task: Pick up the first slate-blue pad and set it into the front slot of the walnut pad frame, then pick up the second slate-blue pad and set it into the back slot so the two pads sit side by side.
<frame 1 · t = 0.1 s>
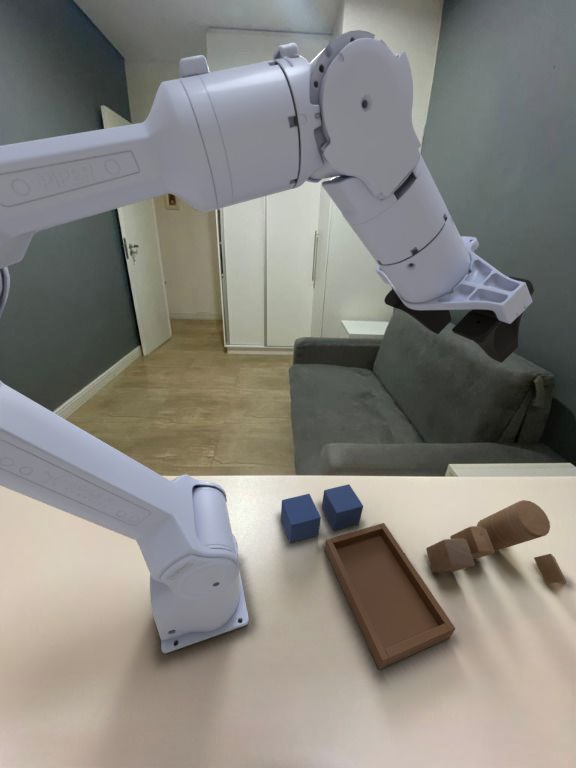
hand: (471, 338, 31), 32 cm above the table, tool tilted 50°, fingers open, 7 cm apart
wooden block set: (485, 559, 44), on the table
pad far: (339, 515, 49), on the table
pad near: (299, 526, 47), on the table
pad frame: (380, 588, 40), on the table
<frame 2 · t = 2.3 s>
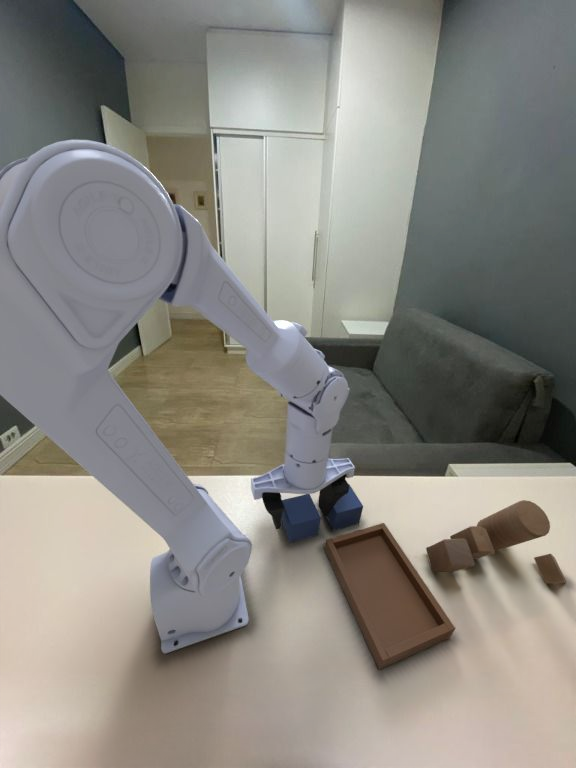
hand: (300, 517, 46), 2 cm above the table, tool pointing down, fingers open, 7 cm apart
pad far: (339, 515, 49), on the table, touching gripper
everything else where it was.
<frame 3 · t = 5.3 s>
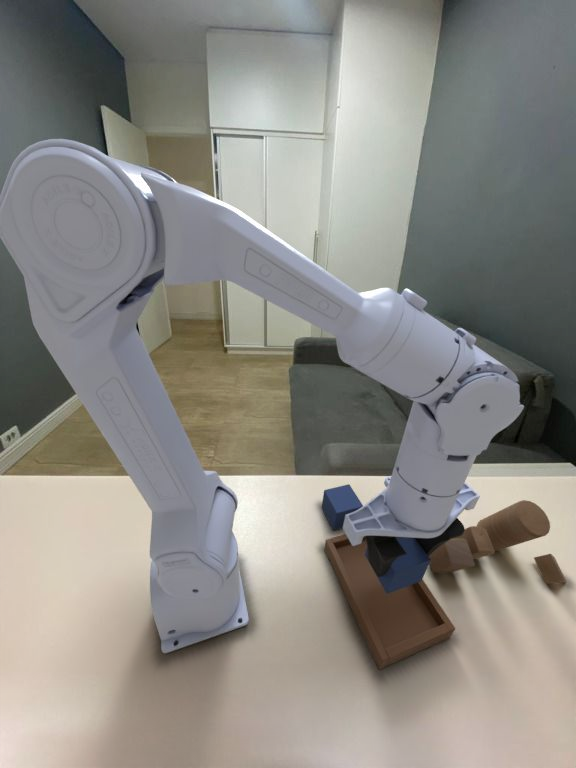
hand: (395, 560, 35), 8 cm above the table, tool pointing down, fingers closed on pad near, 4 cm apart
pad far: (339, 515, 49), on the table
pad near: (392, 567, 35), point 7 cm above the table, touching gripper
everything else where it was.
when the fingers open (2 cm above the table, at t = 7.5 s): pad near stays where it is, resting on pad frame.
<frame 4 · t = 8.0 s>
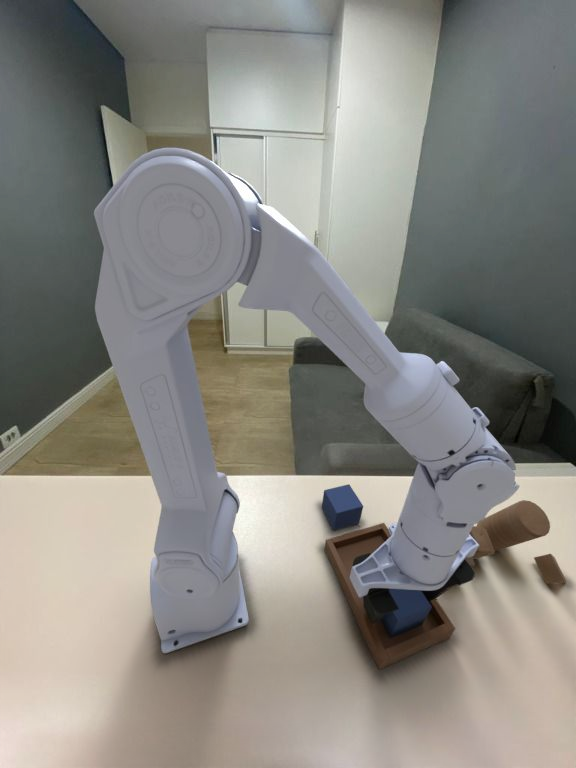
hand: (398, 602, 36), 3 cm above the table, tool pointing down, fingers open, 7 cm apart
pad near: (394, 610, 37), point 1 cm above the table, touching pad frame
everything else where it was.
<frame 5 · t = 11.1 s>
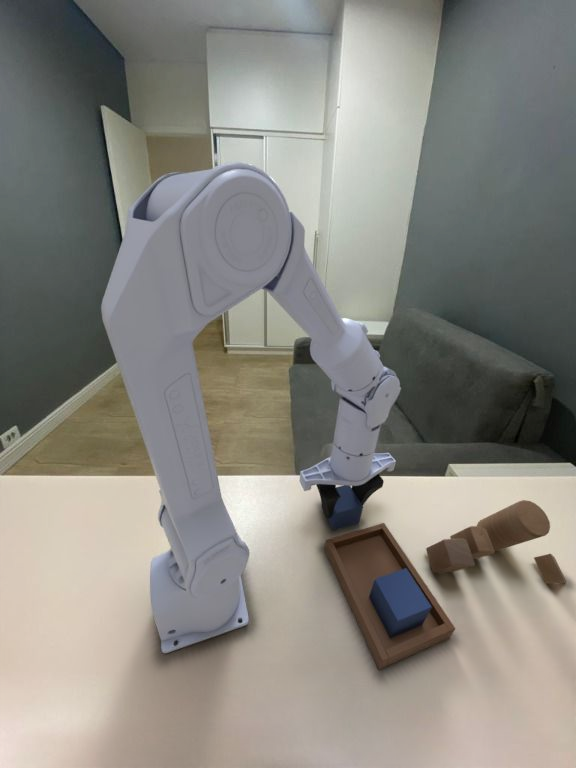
hand: (341, 509, 49), 1 cm above the table, tool pointing down, fingers closed on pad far, 4 cm apart
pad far: (339, 515, 49), on the table, touching gripper
everything else where it was.
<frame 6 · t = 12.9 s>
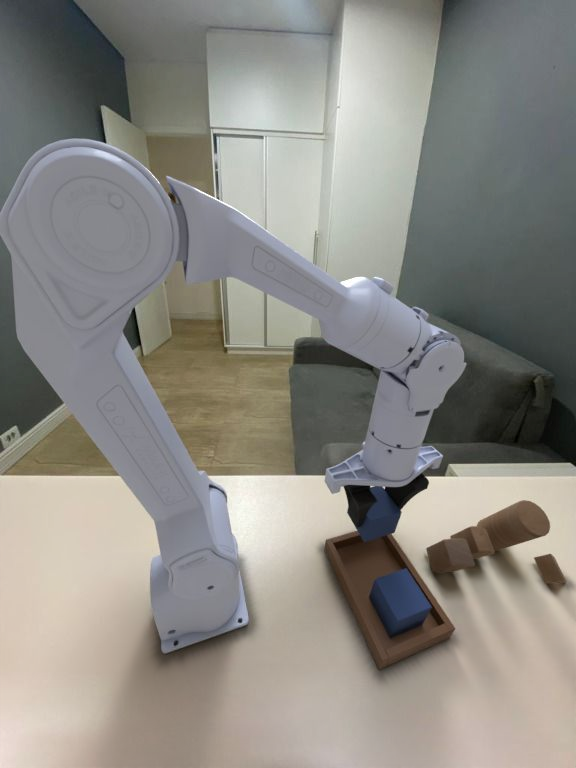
hand: (372, 515, 40), 8 cm above the table, tool pointing down, fingers closed on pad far, 4 cm apart
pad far: (370, 522, 40), point 7 cm above the table, touching gripper
everything else where it was.
when the fingers open (2 cm above the table, at t = 15.0 s): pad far stays where it is, resting on pad frame.
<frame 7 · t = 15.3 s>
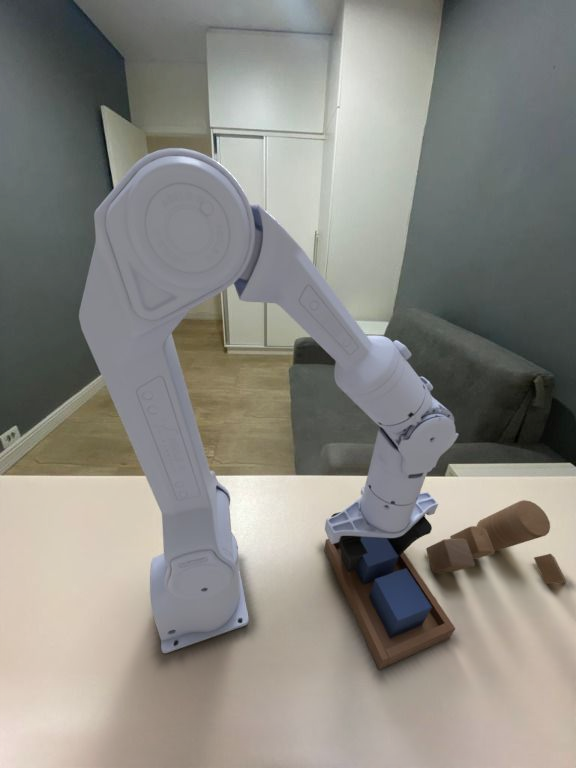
hand: (370, 556, 41), 2 cm above the table, tool pointing down, fingers open, 6 cm apart
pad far: (368, 563, 42), point 1 cm above the table, touching pad frame
everything else where it was.
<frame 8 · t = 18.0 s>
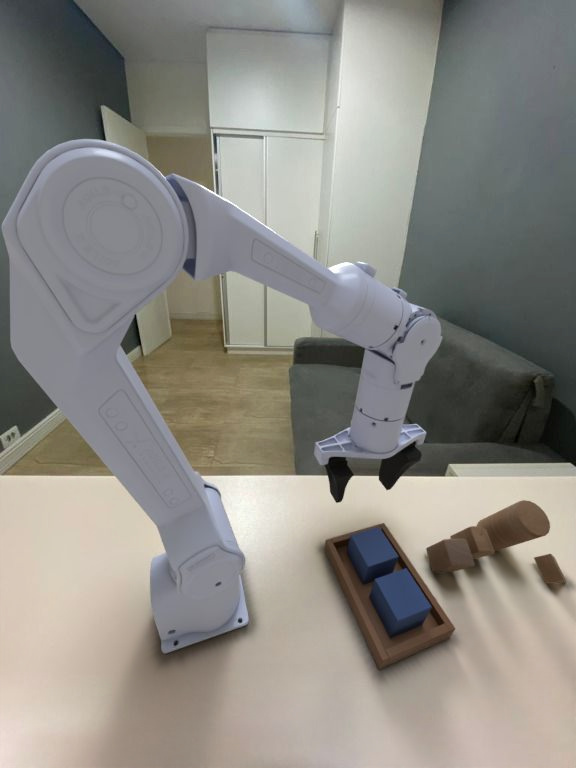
hand: (360, 490, 42), 9 cm above the table, tool pointing down, fingers open, 7 cm apart
nothing on the table moved.
at the end: pad near 0.1 cm from the target spot in the pad frame, point 0.6 cm above the pad frame's base; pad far 0.1 cm from the target spot in the pad frame, point 0.6 cm above the pad frame's base; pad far 6.0 cm from the pad near (horizontally) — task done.
